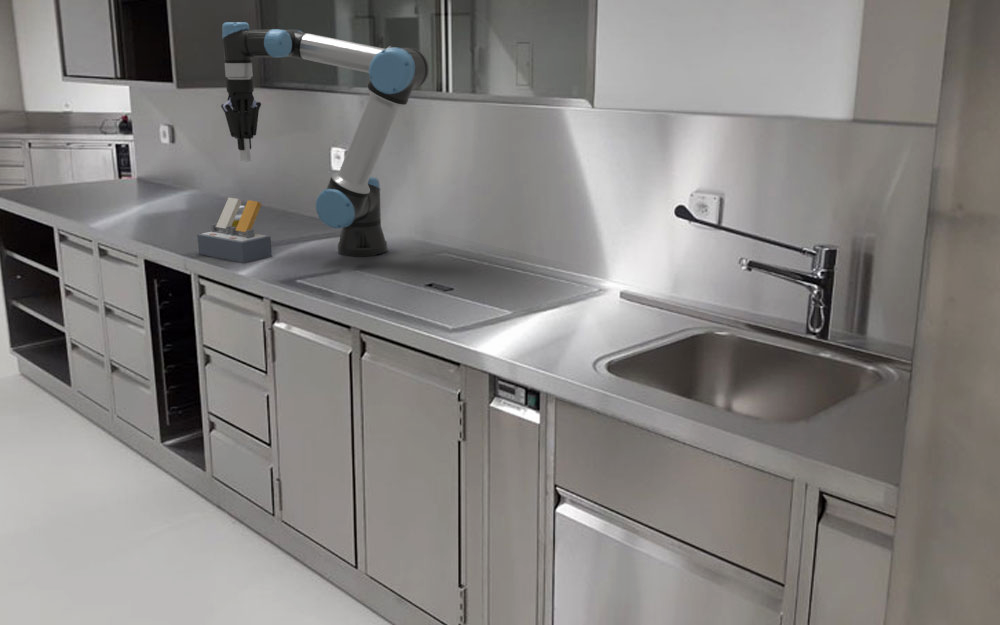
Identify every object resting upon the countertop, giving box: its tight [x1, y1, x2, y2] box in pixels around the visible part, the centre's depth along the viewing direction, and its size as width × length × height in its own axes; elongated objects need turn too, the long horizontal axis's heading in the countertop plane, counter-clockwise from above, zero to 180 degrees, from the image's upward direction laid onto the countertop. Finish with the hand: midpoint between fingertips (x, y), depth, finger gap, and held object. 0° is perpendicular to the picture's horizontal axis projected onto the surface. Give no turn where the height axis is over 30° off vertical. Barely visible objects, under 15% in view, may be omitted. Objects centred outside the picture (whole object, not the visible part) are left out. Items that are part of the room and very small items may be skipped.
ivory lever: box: [215, 197, 243, 232], centre depth 282 cm, size 6×2×11 cm
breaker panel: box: [197, 222, 273, 264], centre depth 279 cm, size 20×11×9 cm, turn 55°
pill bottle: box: [232, 204, 246, 227], centre depth 295 cm, size 6×6×12 cm
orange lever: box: [234, 199, 263, 235], centre depth 277 cm, size 6×2×11 cm
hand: (245, 160), depth 272 cm, fingers closed
